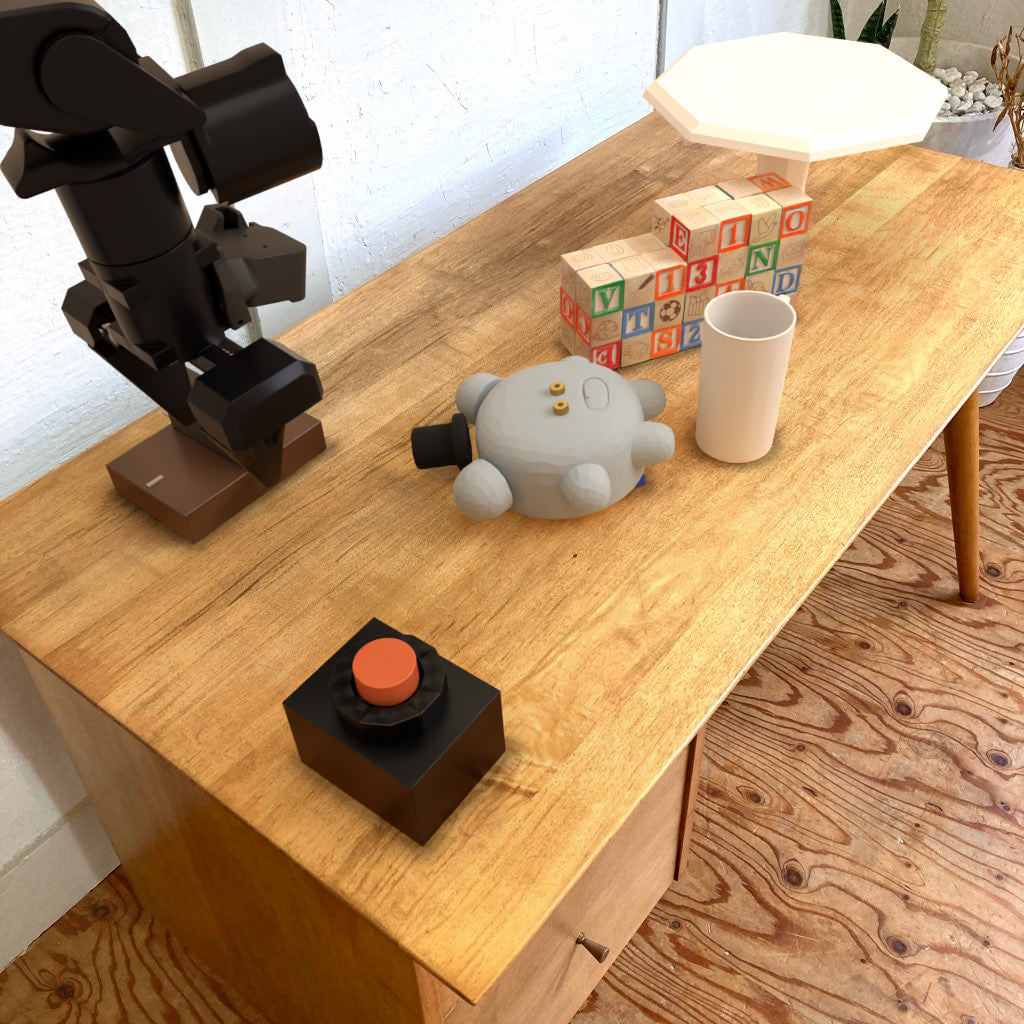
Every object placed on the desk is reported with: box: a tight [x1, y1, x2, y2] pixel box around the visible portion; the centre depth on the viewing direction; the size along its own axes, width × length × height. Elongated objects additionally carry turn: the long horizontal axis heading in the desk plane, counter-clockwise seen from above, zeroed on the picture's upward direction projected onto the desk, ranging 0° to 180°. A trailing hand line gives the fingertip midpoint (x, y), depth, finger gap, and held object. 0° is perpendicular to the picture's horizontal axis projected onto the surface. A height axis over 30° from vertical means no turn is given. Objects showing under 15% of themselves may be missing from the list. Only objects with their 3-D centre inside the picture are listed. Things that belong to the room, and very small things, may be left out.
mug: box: [695, 290, 797, 464], centre depth 83 cm, size 10×7×12 cm, turn 139°
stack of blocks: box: [559, 172, 814, 370], centre depth 94 cm, size 21×6×12 cm, turn 113°
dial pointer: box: [168, 366, 240, 466], centre depth 82 cm, size 9×2×6 cm, turn 51°
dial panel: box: [105, 410, 328, 545], centre depth 85 cm, size 14×13×3 cm
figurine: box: [410, 355, 676, 521], centre depth 82 cm, size 17×8×20 cm
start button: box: [352, 638, 419, 706], centre depth 60 cm, size 4×4×2 cm
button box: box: [281, 616, 507, 847], centre depth 63 cm, size 10×8×8 cm
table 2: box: [642, 31, 949, 194], centre depth 103 cm, size 28×28×17 cm
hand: (230, 451), depth 67 cm, fingers open, 9 cm apart
